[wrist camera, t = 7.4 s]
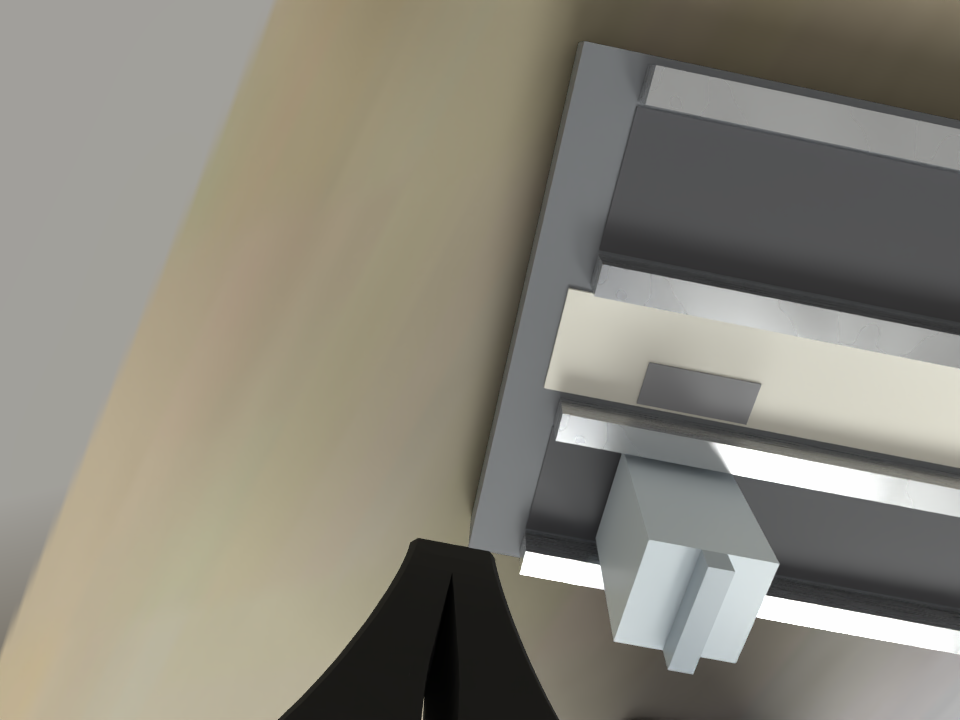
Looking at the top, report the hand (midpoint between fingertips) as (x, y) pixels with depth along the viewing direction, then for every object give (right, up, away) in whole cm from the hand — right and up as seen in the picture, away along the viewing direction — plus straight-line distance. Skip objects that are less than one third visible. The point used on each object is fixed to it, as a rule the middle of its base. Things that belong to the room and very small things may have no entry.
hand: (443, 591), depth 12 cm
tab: (+6, 0, +8) cm, 10 cm away
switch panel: (+12, +3, +8) cm, 15 cm away
